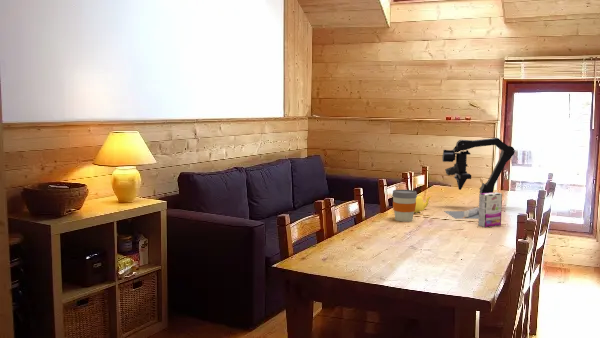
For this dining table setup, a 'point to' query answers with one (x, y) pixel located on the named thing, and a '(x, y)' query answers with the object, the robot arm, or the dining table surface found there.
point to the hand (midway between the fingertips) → (459, 189)
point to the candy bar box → (490, 209)
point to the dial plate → (461, 215)
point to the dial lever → (471, 212)
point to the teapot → (421, 204)
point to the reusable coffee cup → (404, 204)
